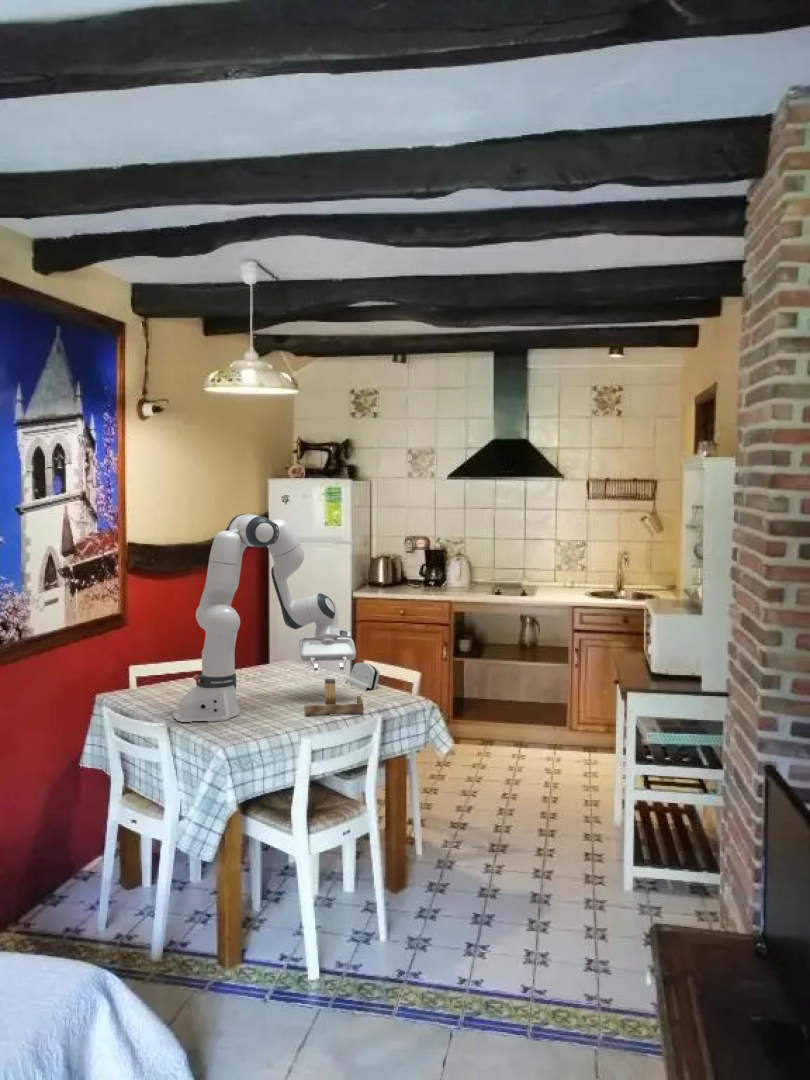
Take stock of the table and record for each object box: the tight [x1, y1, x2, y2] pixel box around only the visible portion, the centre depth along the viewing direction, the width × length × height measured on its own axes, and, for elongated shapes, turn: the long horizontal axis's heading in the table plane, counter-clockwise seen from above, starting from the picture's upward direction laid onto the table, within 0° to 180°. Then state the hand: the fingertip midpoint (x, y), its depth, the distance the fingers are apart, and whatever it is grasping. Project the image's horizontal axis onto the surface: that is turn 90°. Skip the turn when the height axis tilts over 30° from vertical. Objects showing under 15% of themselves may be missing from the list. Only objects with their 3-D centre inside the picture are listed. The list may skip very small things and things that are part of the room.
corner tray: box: [304, 695, 364, 717], centre depth 306 cm, size 20×12×4 cm, turn 98°
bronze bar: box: [324, 678, 336, 705], centre depth 307 cm, size 4×4×10 cm
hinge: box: [345, 662, 380, 692], centre depth 344 cm, size 17×5×10 cm, turn 32°
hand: (328, 669), depth 315 cm, fingers open, 8 cm apart
